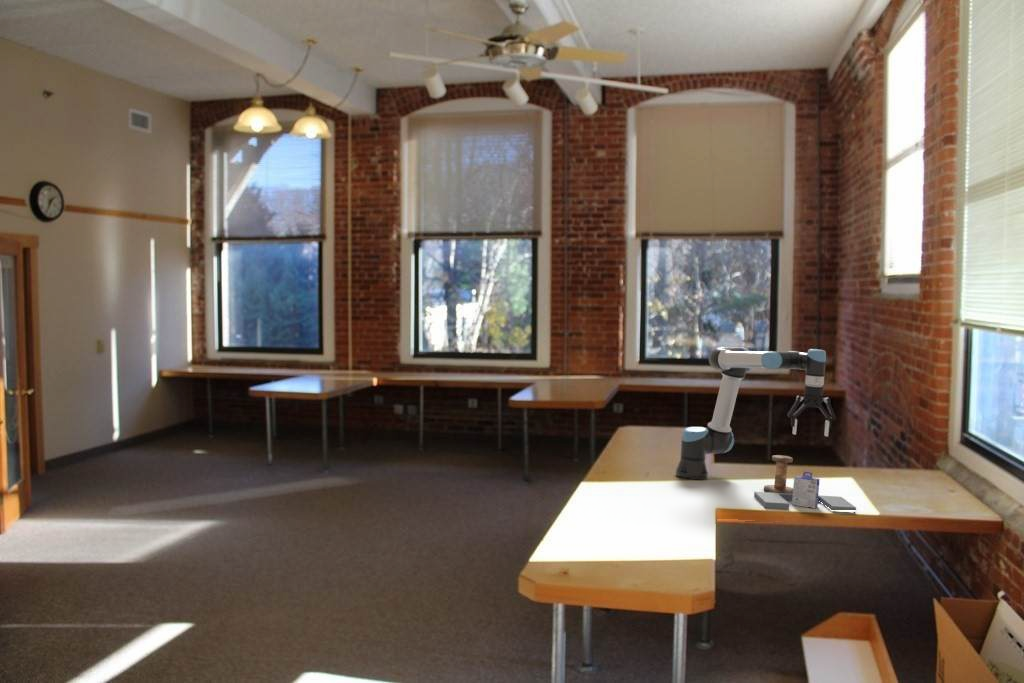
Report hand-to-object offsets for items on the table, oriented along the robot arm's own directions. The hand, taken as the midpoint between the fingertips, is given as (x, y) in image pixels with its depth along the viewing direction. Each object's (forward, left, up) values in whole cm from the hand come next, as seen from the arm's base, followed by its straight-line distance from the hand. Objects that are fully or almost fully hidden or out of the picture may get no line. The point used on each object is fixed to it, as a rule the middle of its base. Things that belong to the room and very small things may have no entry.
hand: (810, 435), depth 372 cm
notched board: (0, +1, -31) cm, 31 cm away
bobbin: (-4, +23, -31) cm, 39 cm away
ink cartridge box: (0, 0, -31) cm, 31 cm away
